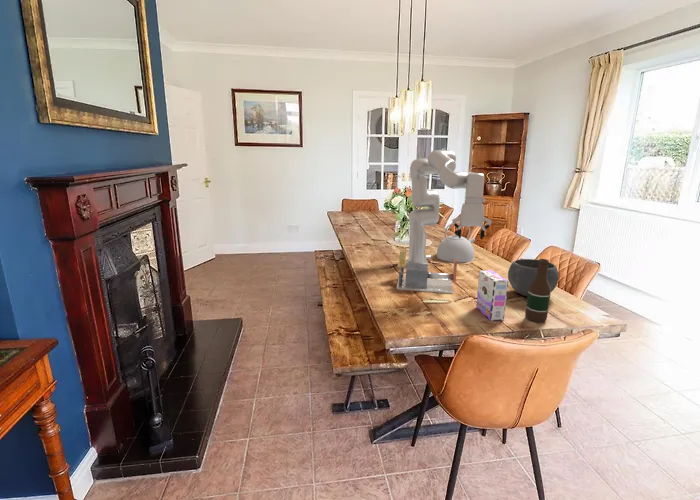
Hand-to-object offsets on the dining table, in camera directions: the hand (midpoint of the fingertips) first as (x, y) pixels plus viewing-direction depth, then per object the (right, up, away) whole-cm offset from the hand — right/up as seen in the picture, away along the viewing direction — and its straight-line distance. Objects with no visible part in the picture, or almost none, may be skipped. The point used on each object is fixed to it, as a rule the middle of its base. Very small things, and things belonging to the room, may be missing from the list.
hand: (470, 238), depth 173 cm
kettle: (+11, -10, +61) cm, 63 cm away
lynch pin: (-13, -20, +8) cm, 26 cm away
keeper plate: (-29, -13, +15) cm, 36 cm away
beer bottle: (+17, -32, -26) cm, 45 cm away
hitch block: (-19, -23, +11) cm, 31 cm away
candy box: (+1, -31, -22) cm, 38 cm away
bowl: (+27, -26, -1) cm, 38 cm away
